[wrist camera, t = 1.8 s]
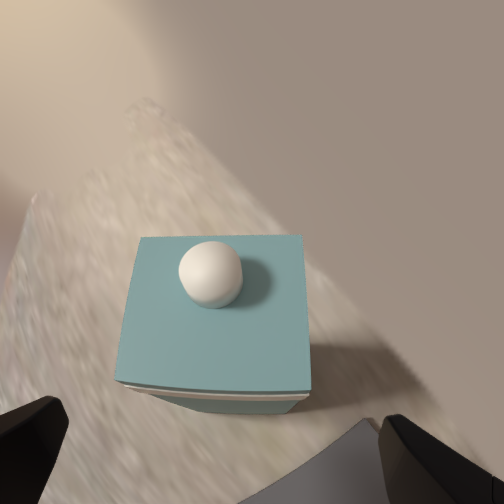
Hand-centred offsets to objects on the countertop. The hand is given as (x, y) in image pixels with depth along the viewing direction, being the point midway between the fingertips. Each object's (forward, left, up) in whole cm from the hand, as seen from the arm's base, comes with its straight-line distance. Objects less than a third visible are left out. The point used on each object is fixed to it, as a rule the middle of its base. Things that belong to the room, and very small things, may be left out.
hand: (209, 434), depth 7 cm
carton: (+3, -1, -10) cm, 11 cm away
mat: (-7, -5, -10) cm, 13 cm away
